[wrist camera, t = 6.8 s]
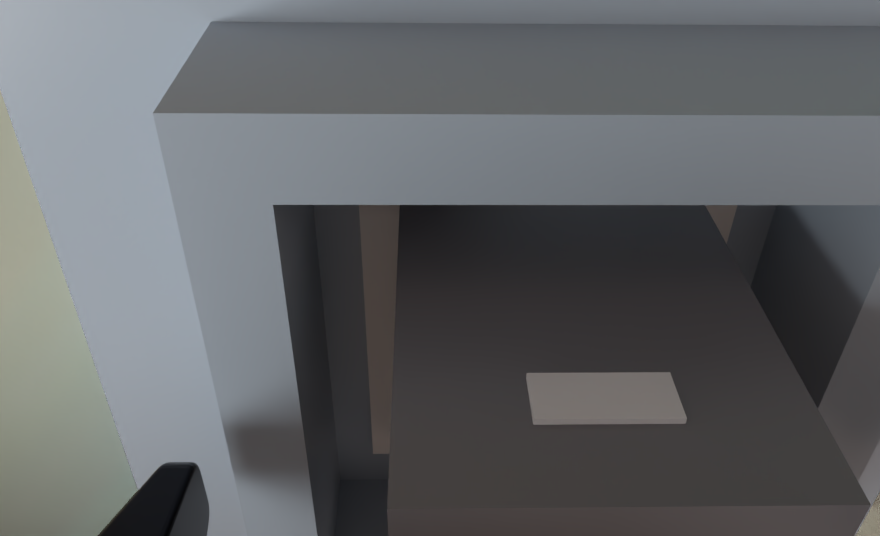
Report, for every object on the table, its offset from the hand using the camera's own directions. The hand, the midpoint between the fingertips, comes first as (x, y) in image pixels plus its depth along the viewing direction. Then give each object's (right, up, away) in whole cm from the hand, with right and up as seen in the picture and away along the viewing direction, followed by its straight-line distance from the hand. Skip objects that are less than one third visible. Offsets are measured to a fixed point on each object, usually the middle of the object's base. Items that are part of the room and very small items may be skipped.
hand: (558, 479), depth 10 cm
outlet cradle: (0, +2, +3) cm, 4 cm away
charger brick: (0, +2, +2) cm, 3 cm away
